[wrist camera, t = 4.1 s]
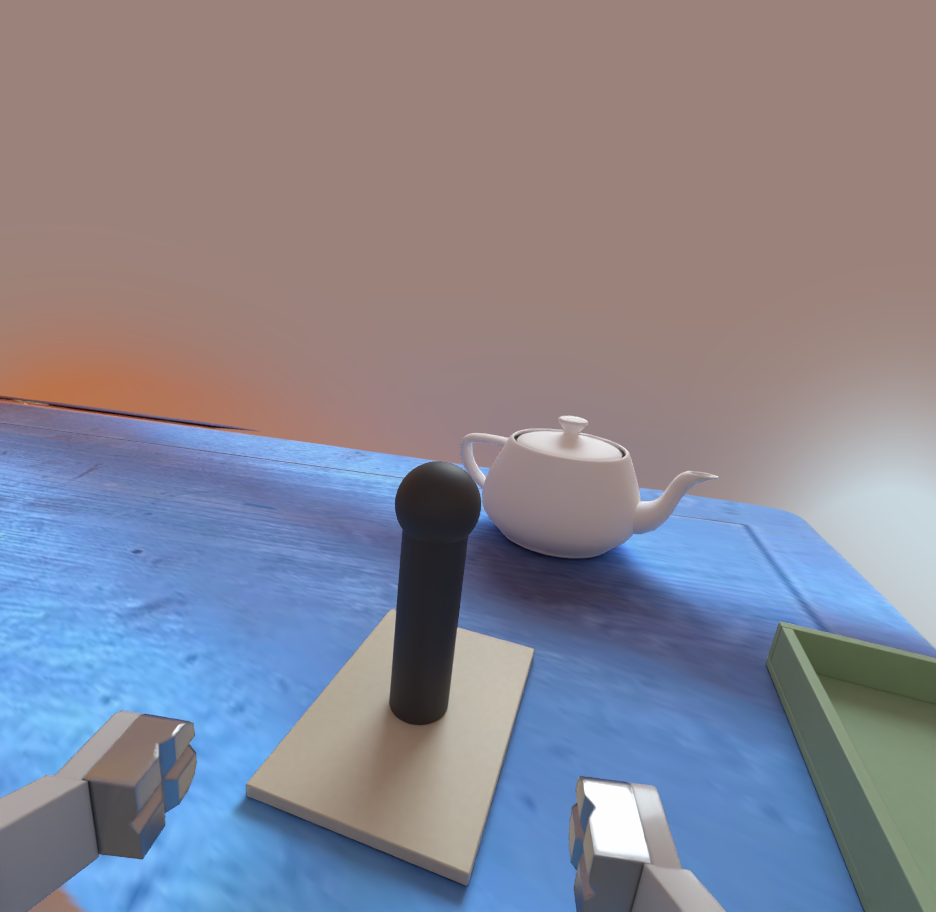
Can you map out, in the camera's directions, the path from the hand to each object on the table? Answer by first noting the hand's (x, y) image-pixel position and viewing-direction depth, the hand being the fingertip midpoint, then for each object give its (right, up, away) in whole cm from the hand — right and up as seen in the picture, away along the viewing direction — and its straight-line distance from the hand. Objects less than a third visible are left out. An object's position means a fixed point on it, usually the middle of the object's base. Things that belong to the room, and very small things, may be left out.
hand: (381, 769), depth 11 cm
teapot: (+10, -1, +35) cm, 37 cm away
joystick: (-1, -6, +14) cm, 15 cm away
